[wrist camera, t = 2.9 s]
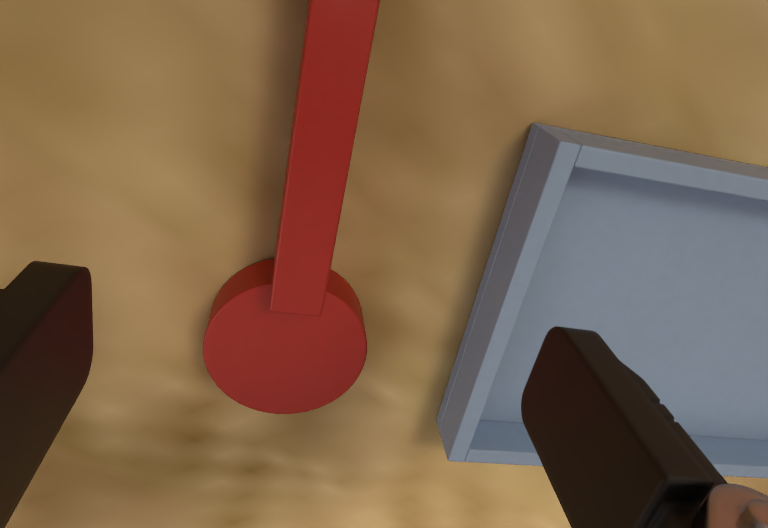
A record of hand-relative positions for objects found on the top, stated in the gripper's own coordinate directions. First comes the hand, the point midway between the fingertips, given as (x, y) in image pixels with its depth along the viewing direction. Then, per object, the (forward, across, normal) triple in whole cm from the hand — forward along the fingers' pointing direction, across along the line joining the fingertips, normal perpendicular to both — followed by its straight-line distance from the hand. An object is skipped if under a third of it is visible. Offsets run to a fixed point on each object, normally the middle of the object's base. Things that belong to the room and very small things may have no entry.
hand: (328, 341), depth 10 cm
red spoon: (+7, 0, +1) cm, 7 cm away
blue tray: (+7, -14, +2) cm, 16 cm away
